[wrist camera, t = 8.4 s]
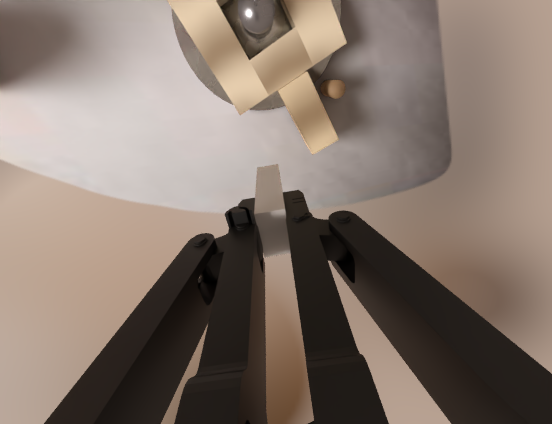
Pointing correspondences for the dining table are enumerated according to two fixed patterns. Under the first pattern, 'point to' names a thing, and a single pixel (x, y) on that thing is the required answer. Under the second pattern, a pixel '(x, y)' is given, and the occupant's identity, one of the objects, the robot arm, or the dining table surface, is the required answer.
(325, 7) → the wooden block frame
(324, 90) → the dowel
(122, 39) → the dining table surface
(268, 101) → the pot lid
